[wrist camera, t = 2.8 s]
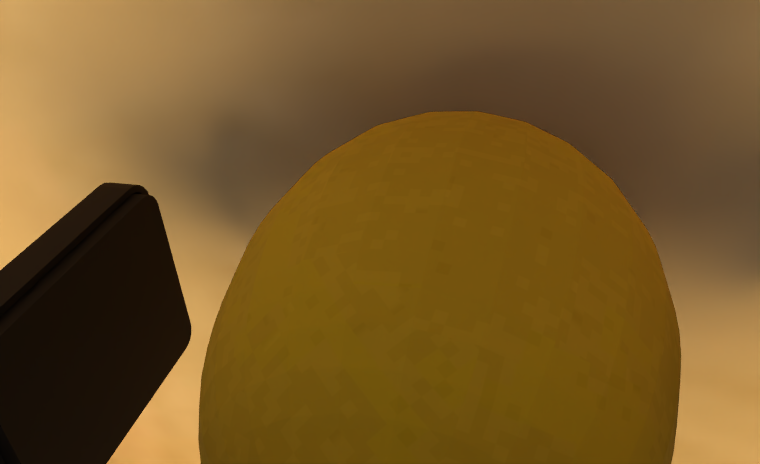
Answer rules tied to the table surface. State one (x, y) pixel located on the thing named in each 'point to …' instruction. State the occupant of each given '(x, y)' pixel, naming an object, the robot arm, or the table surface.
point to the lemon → (446, 310)
